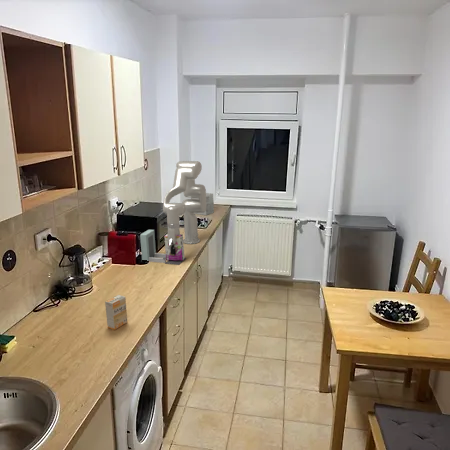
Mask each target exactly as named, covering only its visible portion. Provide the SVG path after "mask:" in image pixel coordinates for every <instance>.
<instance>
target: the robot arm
mask: <svg viewBox="0 0 450 450" xmlns="http://www.w3.org/2000/svg"><path fill="white" fill-rule="evenodd" d="M175 164H176V166H175V167H176V168H175V171H174V172H175V173H174V176H173V177H174V178H173V184H172V187H171V189H170V190H168V191H167V193H166V194H165V196H164V198H163V204H162V213H164V214H165V215H166V220H167V221H166V222H167V223H166V224H167V234H168V244H169V246H170V251H171V254H174V255H175V254H176V251H175V244H176V239H177V236H178V235H179V234H181V231H180V216H182V215H183V227H184V230H183V231H184V238H183V244H187V245H193V244H194V245H195V244H198V243H200V242H201V239H200V238H199V232H198V231H199V230H198V217H197V214H194V213H204V212H205V211H206V207H207V206H206V193H207V190H206V186H205V185H204V184H200V183H198V184H197V183H196V179H197V178H199V175H200V174H201V172H202V170H203V169H202V163H201V162H200V161H195V160H180V161H178V162H177V163H175ZM182 193H183V196H184V197H185V198H187V199H184V200H183V201H182V202H170V201H171V200H172V199H173V197H176V196H177V195H180V194H182ZM191 198H199V199H191ZM172 243H173V244H172Z"/></svg>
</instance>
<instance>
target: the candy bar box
mask: <svg viewBox="0 0 450 450" xmlns="http://www.w3.org/2000/svg"><path fill="white" fill-rule="evenodd" d="M163 238H164V249H165V251H164V252H165V254H166V261H168V260H183V259H184V258H186V257H185V245H184V244H185V243H183V239H184V234H183V233H180V234H179V235H178V236H177V239H176V244H175V251H176V254H175V255H174V254H171V251H170V246H169V244H168V233H166V234H165V235H164V237H163ZM172 244H173V243H172Z"/></svg>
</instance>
